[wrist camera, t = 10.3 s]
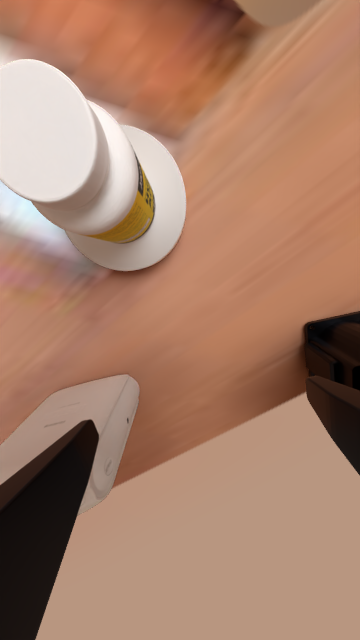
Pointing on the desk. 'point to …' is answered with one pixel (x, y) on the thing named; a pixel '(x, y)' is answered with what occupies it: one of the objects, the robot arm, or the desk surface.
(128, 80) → the desk surface
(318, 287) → the desk surface
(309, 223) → the desk surface
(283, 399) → the desk surface
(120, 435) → the photo printer
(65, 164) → the supplement bottle
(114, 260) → the plinth
